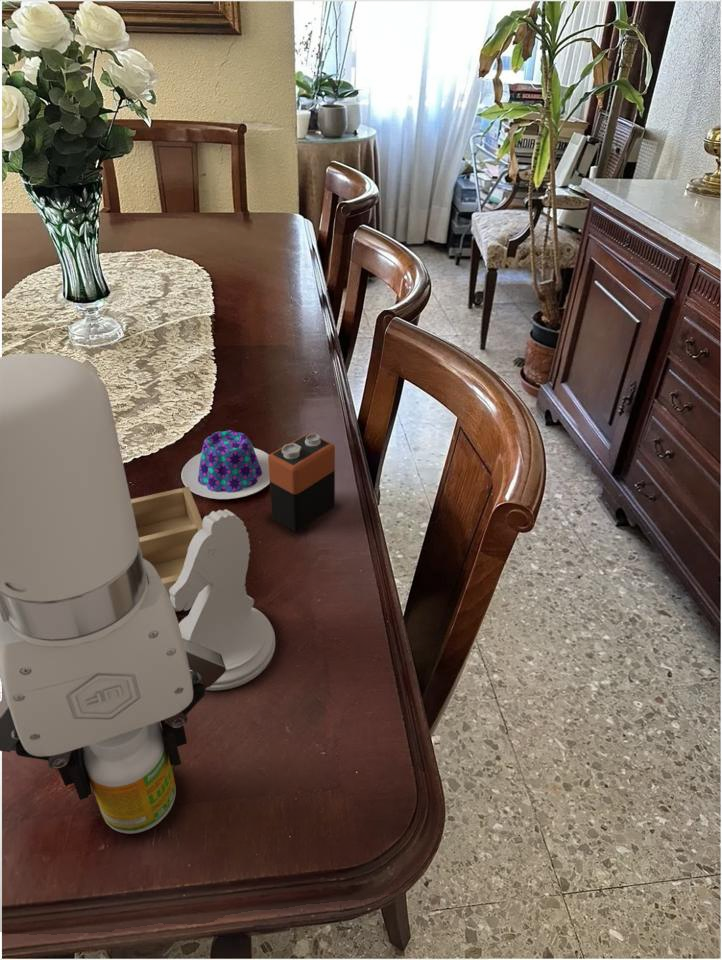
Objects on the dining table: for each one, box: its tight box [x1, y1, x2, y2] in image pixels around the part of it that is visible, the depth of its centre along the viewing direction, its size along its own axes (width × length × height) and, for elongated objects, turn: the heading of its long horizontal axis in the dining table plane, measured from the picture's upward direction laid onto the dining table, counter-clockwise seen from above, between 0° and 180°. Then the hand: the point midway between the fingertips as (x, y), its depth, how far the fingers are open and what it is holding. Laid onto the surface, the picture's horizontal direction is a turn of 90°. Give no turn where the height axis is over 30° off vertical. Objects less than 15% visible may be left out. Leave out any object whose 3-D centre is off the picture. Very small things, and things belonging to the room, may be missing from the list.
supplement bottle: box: [83, 722, 177, 835], centre depth 47 cm, size 5×5×10 cm
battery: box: [268, 432, 336, 533], centre depth 76 cm, size 4×7×10 cm, turn 140°
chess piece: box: [169, 508, 276, 691], centre depth 57 cm, size 10×10×15 cm
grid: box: [130, 486, 203, 613], centre depth 69 cm, size 15×15×4 cm
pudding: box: [180, 429, 270, 500], centre depth 83 cm, size 12×12×5 cm
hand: (128, 762), depth 47 cm, fingers closed on supplement bottle, 5 cm apart
